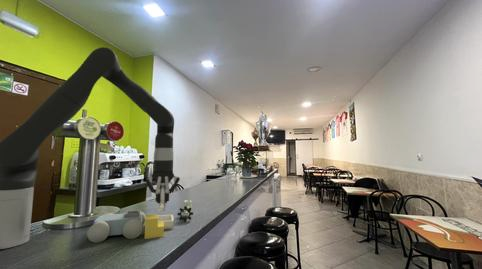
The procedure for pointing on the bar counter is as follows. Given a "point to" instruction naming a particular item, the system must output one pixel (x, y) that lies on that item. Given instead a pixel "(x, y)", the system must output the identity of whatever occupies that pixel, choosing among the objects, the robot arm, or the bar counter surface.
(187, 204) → the valve
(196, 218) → the bar counter surface
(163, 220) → the tray
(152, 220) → the block
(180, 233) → the bar counter surface
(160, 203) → the pin
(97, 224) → the trolley
